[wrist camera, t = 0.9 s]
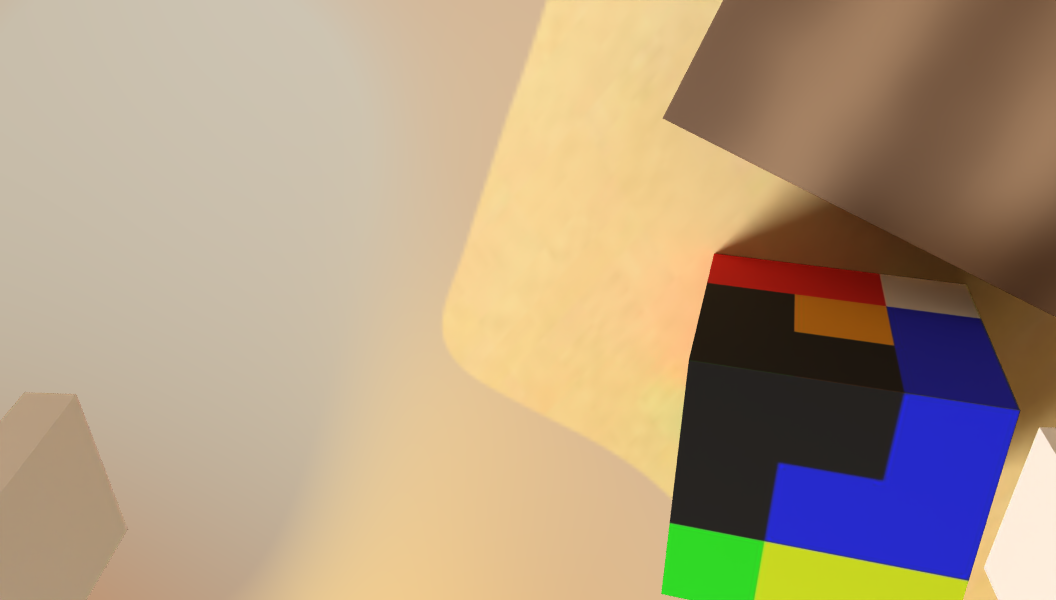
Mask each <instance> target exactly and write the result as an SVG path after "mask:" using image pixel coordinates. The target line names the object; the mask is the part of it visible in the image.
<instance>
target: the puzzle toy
mask: <svg viewBox="0 0 1056 600" xmlns="http://www.w3.org/2000/svg"><path fill="white" fill-rule="evenodd" d="M1019 413H1020V409H1019V406H1018V404H1017V402H1016V399H1015V397H1014V395H1013V392H1012V390H1011V388H1010V385H1009V383H1008V381H1007V378H1006V376H1005V374H1004V371H1003V369H1002V366H1001V364H1000V362H999V359H998V357H997V355H996V352H995V350H994V348H993V345H992V343H991V341H990V338H989V336H988V333H987V331H986V329H985V326H984V324H983V322H982V319H981V317H980V315H979V312H978V310H977V308H976V305H975V303H974V300H973V298H972V296H971V293H970V291H969V289H968V286H967V285H966V284H958V283H950V282H942V281H933V280H925V279H917V278H909V277H901V276H893V275H885V274H877V273H869V272H861V271H852V270H844V269H836V268H828V267H820V266H812V265H804V264H796V263H788V262H779V261H771V260H763V259H755V258H747V257H739V256H731V255H723V254H715V253H714V257H713V261H712V265H711V269H710V274H709V278H708V282H707V286H706V290H705V295H704V299H703V303H702V307H701V312H700V316H699V320H698V324H697V328H696V333H695V337H694V341H693V345H692V350H691V354H690V358H689V364H688V373H687V381H686V390H685V398H684V407H683V415H682V424H681V432H680V440H679V449H678V457H677V466H676V474H675V483H674V491H673V500H672V509H671V518H670V526H669V534H668V542H667V551H666V559H665V568H664V576H663V585H662V594H665V595H669V596H674V597H679V598H684V599H688V600H963V597H964V594H965V591H966V587H967V584H968V581H969V578H970V574H971V571H972V568H973V564H974V561H975V558H976V555H977V551H978V548H979V545H980V541H981V538H982V535H983V531H984V528H985V525H986V522H987V518H988V515H989V512H990V508H991V505H992V502H993V498H994V495H995V492H996V489H997V485H998V482H999V479H1000V475H1001V472H1002V469H1003V465H1004V462H1005V459H1006V456H1007V452H1008V449H1009V446H1010V442H1011V439H1012V436H1013V433H1014V429H1015V426H1016V423H1017V419H1018V416H1019Z"/></svg>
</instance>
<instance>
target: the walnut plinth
mask: <svg viewBox="0 0 1056 600" xmlns="http://www.w3.org/2000/svg"><path fill="white" fill-rule="evenodd" d="M663 119H665V120H667V121H669V122H671V123H673V124H675V125H677V126H679V127H681V128H683V129H685V130H687V131H689V132H691V133H693V134H695V135H697V136H699V137H701V138H703V139H705V140H707V141H709V142H711V143H713V144H715V145H717V146H719V147H721V148H723V149H725V150H727V151H729V152H730V153H732V154H734V155H736V156H738V157H740V158H742V159H744V160H746V161H748V162H750V163H752V164H754V165H756V166H758V167H760V168H762V169H764V170H766V171H768V172H770V173H772V174H774V175H776V176H778V177H780V178H782V179H784V180H786V181H788V182H790V183H792V184H794V185H796V186H798V187H800V188H802V189H804V190H806V191H808V192H810V193H812V194H814V195H816V196H818V197H819V198H821V199H823V200H825V201H827V202H829V203H831V204H833V205H835V206H837V207H839V208H841V209H843V210H845V211H847V212H849V213H851V214H853V215H855V216H857V217H859V218H861V219H863V220H865V221H867V222H869V223H871V224H873V225H875V226H877V227H879V228H881V229H883V230H885V231H887V232H889V233H891V234H893V235H895V236H897V237H899V238H901V239H903V240H905V241H907V242H909V243H910V244H912V245H914V246H916V247H918V248H920V249H922V250H924V251H926V252H928V253H930V254H932V255H934V256H936V257H938V258H940V259H942V260H944V261H946V262H948V263H950V264H952V265H954V266H956V267H958V268H960V269H962V270H964V271H966V272H968V273H970V274H972V275H974V276H976V277H978V278H980V279H982V280H984V281H986V282H988V283H990V284H992V285H994V286H996V287H998V288H999V289H1001V290H1003V291H1005V292H1007V293H1009V294H1011V295H1013V296H1015V297H1017V298H1019V299H1021V300H1023V301H1025V302H1027V303H1029V304H1031V305H1033V306H1035V307H1037V308H1039V309H1041V310H1043V311H1045V312H1047V313H1049V314H1051V315H1053V316H1055V317H1056V0H723V2H722V4H721V6H720V8H719V10H718V12H717V13H716V15H715V17H714V19H713V21H712V23H711V25H710V27H709V29H708V31H707V33H706V35H705V37H704V39H703V41H702V43H701V45H700V47H699V49H698V51H697V52H696V54H695V56H694V58H693V60H692V62H691V64H690V66H689V68H688V70H687V72H686V74H685V76H684V78H683V80H682V82H681V84H680V86H679V88H678V90H677V92H676V93H675V95H674V97H673V99H672V101H671V103H670V105H669V107H668V109H667V111H666V113H665V115H664V117H663Z"/></svg>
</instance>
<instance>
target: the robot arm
mask: <svg viewBox="0 0 1056 600" xmlns="http://www.w3.org/2000/svg"><path fill="white" fill-rule="evenodd" d="M127 530H128V529H127V526H126V524H125V521H124V519H123V516H122V513H121V511H120V508H119V505H118V503H117V500H116V497H115V495H114V492H113V489H112V487H111V484H110V482H109V479H108V476H107V474H106V471H105V468H104V466H103V463H102V460H101V458H100V455H99V452H98V450H97V447H96V445H95V442H94V439H93V437H92V434H91V432H90V429H89V426H88V424H87V421H86V419H85V416H84V413H83V410H82V408H81V405H80V402H79V400H78V397H77V395H76V394H54V393H24V394H23V395H22V396H21V397H20V398H19V399H18V401H17V402H16V403H15V405H14V406H13V407H12V408H11V409H10V410H9V411H8V412H7V414H6V415H5V416H4V418H2V420H1V421H0V600H87V599H88V597H89V595H90V594H91V592H92V590H93V588H94V587H95V585H96V583H97V582H98V579H99V578H100V576H101V575H102V573H103V571H104V569H105V568H106V566H107V564H108V562H109V561H110V559H111V557H112V556H113V554H114V552H115V550H116V548H117V547H118V545H119V544H120V542H121V540H122V538H123V537H124V535H125V533H126V531H127ZM984 569H985V571H986V573H987V576H988V578H989V580H990V583H991V585H992V587H993V589H994V592H995V594H996V596H997V599H998V600H1056V428H1054V427H1039V429H1038V432H1037V434H1036V437H1035V439H1034V442H1033V444H1032V447H1031V450H1030V452H1029V455H1028V457H1027V460H1026V462H1025V465H1024V467H1023V470H1022V472H1021V475H1020V477H1019V480H1018V483H1017V485H1016V488H1015V490H1014V493H1013V495H1012V498H1011V500H1010V503H1009V505H1008V508H1007V510H1006V513H1005V516H1004V518H1003V521H1002V523H1001V526H1000V528H999V531H998V533H997V536H996V538H995V541H994V543H993V546H992V549H991V551H990V554H989V556H988V559H987V561H986V564H985V566H984Z"/></svg>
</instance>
